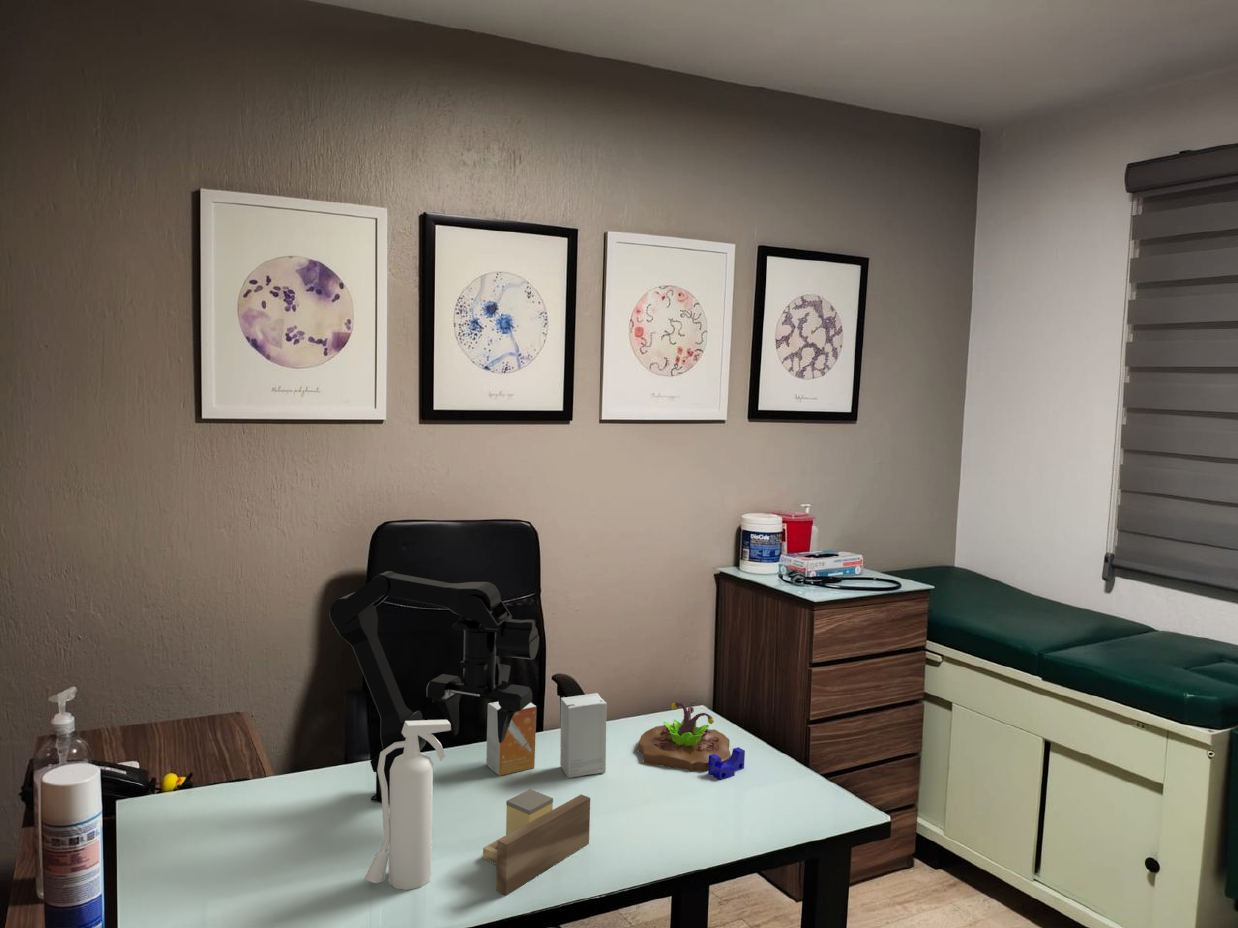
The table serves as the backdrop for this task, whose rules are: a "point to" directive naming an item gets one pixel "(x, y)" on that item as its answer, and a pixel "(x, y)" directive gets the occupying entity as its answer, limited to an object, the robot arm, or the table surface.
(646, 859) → the table surface
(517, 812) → the grey-topped square block
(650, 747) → the plant
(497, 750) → the small box
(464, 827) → the table surface
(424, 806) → the fire extinguisher
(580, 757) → the skincare box
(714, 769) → the cable holder
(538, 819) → the wall board
